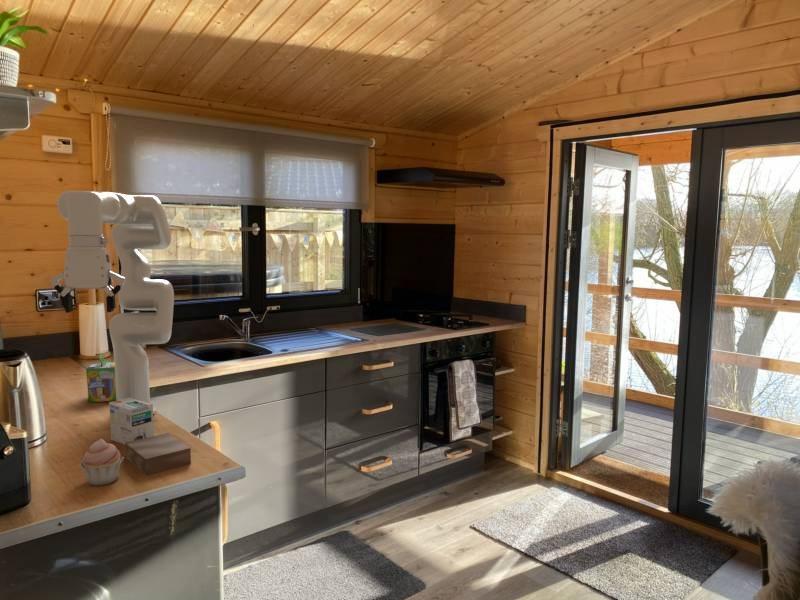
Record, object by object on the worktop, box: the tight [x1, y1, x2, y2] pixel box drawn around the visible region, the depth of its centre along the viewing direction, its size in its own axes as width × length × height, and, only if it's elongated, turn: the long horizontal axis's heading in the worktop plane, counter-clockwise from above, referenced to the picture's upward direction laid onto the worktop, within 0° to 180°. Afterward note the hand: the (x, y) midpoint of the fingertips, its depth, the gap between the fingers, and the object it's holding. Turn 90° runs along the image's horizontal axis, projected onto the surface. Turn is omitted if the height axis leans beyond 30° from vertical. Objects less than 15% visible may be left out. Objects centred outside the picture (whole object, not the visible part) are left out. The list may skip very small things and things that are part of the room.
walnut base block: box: [124, 432, 192, 476], centre depth 158 cm, size 14×11×4 cm
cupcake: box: [78, 438, 125, 487], centre depth 146 cm, size 9×9×10 cm
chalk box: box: [85, 353, 116, 404], centre depth 208 cm, size 9×9×15 cm
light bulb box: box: [108, 397, 155, 446], centre depth 171 cm, size 11×7×11 cm, turn 56°
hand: (90, 311), depth 156 cm, fingers open, 9 cm apart
